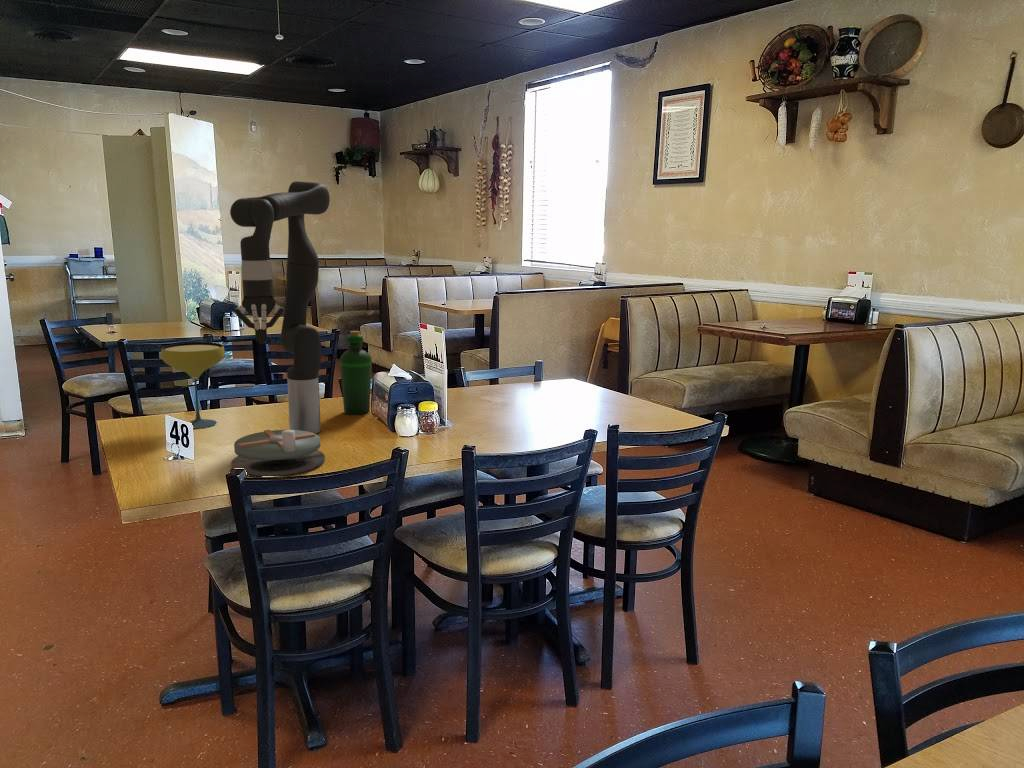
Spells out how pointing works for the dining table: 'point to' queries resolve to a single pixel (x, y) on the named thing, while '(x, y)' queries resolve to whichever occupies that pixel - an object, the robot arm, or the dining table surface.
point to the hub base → (280, 465)
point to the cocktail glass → (194, 366)
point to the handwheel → (277, 445)
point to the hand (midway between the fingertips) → (261, 343)
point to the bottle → (356, 376)
